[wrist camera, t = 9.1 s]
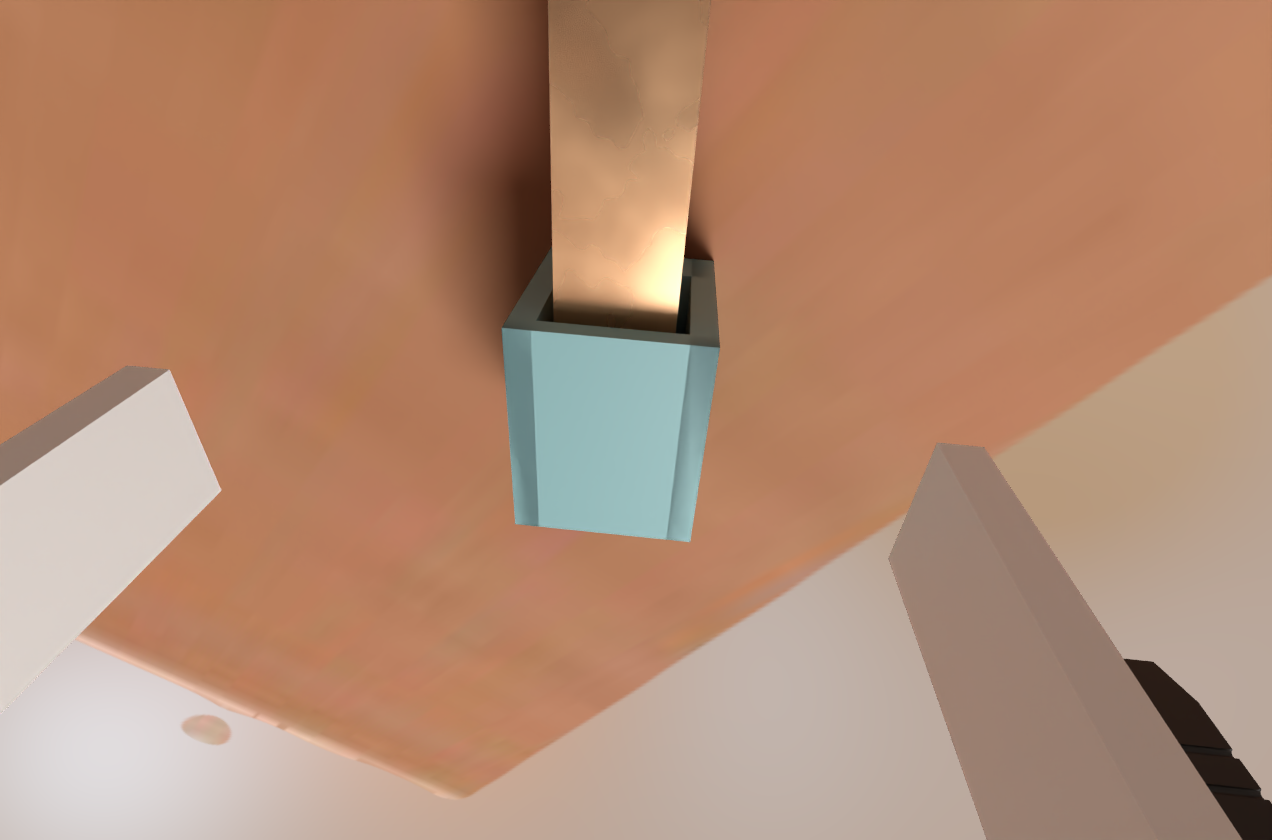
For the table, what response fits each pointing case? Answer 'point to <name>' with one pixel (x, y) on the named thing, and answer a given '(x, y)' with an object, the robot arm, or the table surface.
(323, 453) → the table surface
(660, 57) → the tall peach post
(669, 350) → the socket
